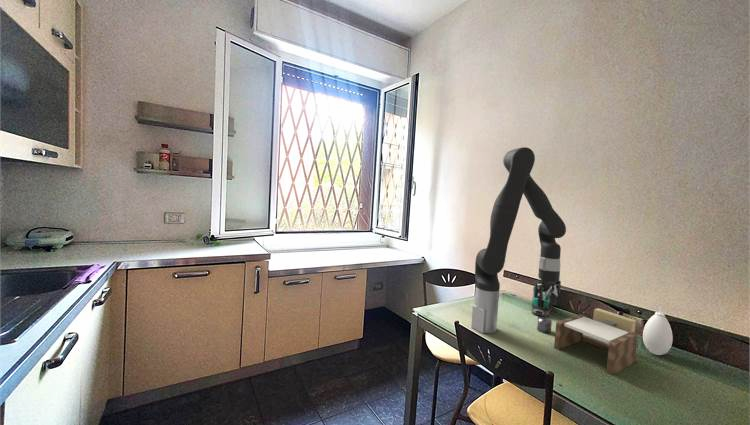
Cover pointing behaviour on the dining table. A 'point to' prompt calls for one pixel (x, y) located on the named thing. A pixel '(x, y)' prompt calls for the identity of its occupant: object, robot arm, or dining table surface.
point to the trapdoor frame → (600, 345)
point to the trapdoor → (603, 325)
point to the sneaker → (547, 305)
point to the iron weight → (544, 325)
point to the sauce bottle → (658, 334)
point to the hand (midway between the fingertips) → (546, 306)
